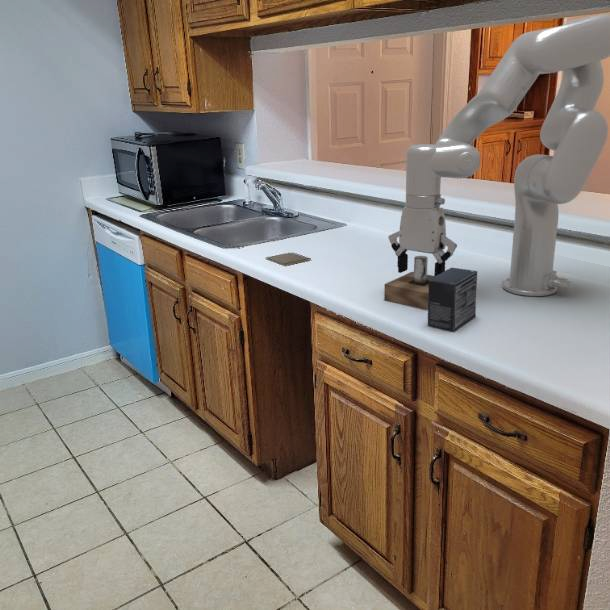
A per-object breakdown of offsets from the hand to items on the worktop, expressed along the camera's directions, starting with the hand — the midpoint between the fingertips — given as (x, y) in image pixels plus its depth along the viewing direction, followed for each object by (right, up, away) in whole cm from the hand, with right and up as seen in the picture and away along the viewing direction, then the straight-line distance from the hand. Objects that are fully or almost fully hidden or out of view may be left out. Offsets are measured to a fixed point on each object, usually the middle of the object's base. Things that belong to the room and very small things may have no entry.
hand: (420, 274), depth 141 cm
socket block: (0, -5, +2) cm, 6 cm away
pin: (0, -5, +2) cm, 6 cm away
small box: (+4, -11, -12) cm, 17 cm away
